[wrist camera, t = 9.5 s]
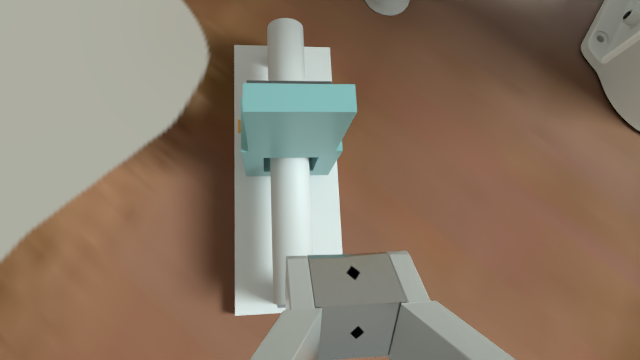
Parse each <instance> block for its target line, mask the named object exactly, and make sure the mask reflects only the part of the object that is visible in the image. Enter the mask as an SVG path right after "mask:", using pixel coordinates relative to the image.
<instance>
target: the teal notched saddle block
mask: <svg viewBox="0 0 640 360" xmlns="http://www.w3.org/2000/svg"><path fill="white" fill-rule="evenodd" d="M356 113H357V104H356V91H355V84H280V83H243V97H241V154H242V159H243V164H244V169H245V174H246V176H270V158H296V157H309V170H310V175H328V174H329V172H330V171H331V169H332V167H333V166H334V164H335V163H336V161H337V159H338V158H339V156H340V154H341V153H342V151H343V150H342V138H343V137H344V135H345V133H346V131H347V129H348V128H349V126H350V124H351V122H352V120H353V119H354V117H355V115H356Z"/></svg>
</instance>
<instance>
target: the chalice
mask: <svg viewBox="0 0 640 360" xmlns="http://www.w3.org/2000/svg"><path fill="white" fill-rule="evenodd" d="M409 1H410V0H365V2H366V3H367V4H368V6H369V7H370V8H371V9H373V10H374V11H375V12H377V13H380V14H382V15H390V16H391V15H397V14H399V13H401V12H403V11H404V10H405V9H406V8H407V7H408V4H409Z"/></svg>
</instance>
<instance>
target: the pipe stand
mask: <svg viewBox="0 0 640 360" xmlns="http://www.w3.org/2000/svg"><path fill="white" fill-rule="evenodd" d="M247 80H267V81H332V75H331V59H330V47H304V39H303V26H302V24H301V23H300V22H298V21H296V20H294V19H290V18H280V19H276V20H273V21H272V22H270V23H269V24H268V26H267V46H253V45H234V157H235V316H239V315H255V314H271V313H282V312H283V310H285V274H286V256H307V255H340V254H342V238H341V222H340V206H339V189H338V173H337V161H336V163H335V164H334V166H333V167H332V169H331V171H330V172H329V174H328V175H310V170H309V157H296V158H270V176H246V174H245V169H244V164H243V159H242V154H241V97H243V83H247Z"/></svg>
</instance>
